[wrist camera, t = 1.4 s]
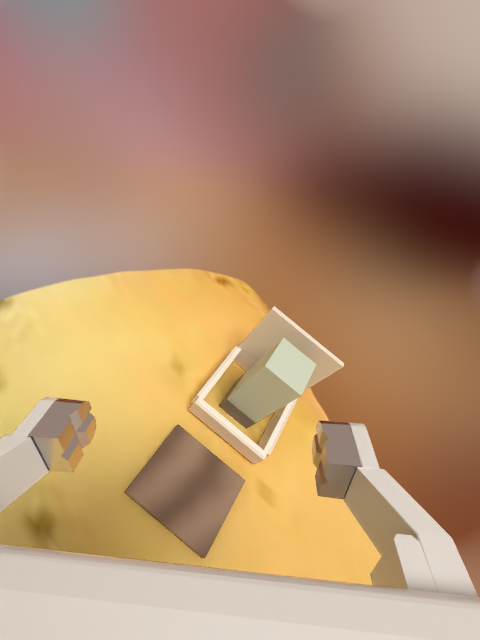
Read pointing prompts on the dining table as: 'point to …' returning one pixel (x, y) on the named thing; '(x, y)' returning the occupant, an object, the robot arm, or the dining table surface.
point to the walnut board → (187, 490)
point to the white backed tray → (246, 357)
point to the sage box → (269, 384)
